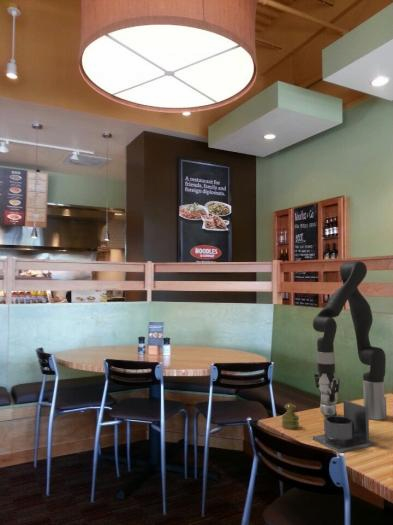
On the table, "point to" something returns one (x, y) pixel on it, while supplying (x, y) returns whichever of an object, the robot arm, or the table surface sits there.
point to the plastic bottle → (326, 396)
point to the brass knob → (290, 417)
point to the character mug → (335, 406)
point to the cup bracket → (347, 429)
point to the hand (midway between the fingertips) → (327, 399)
